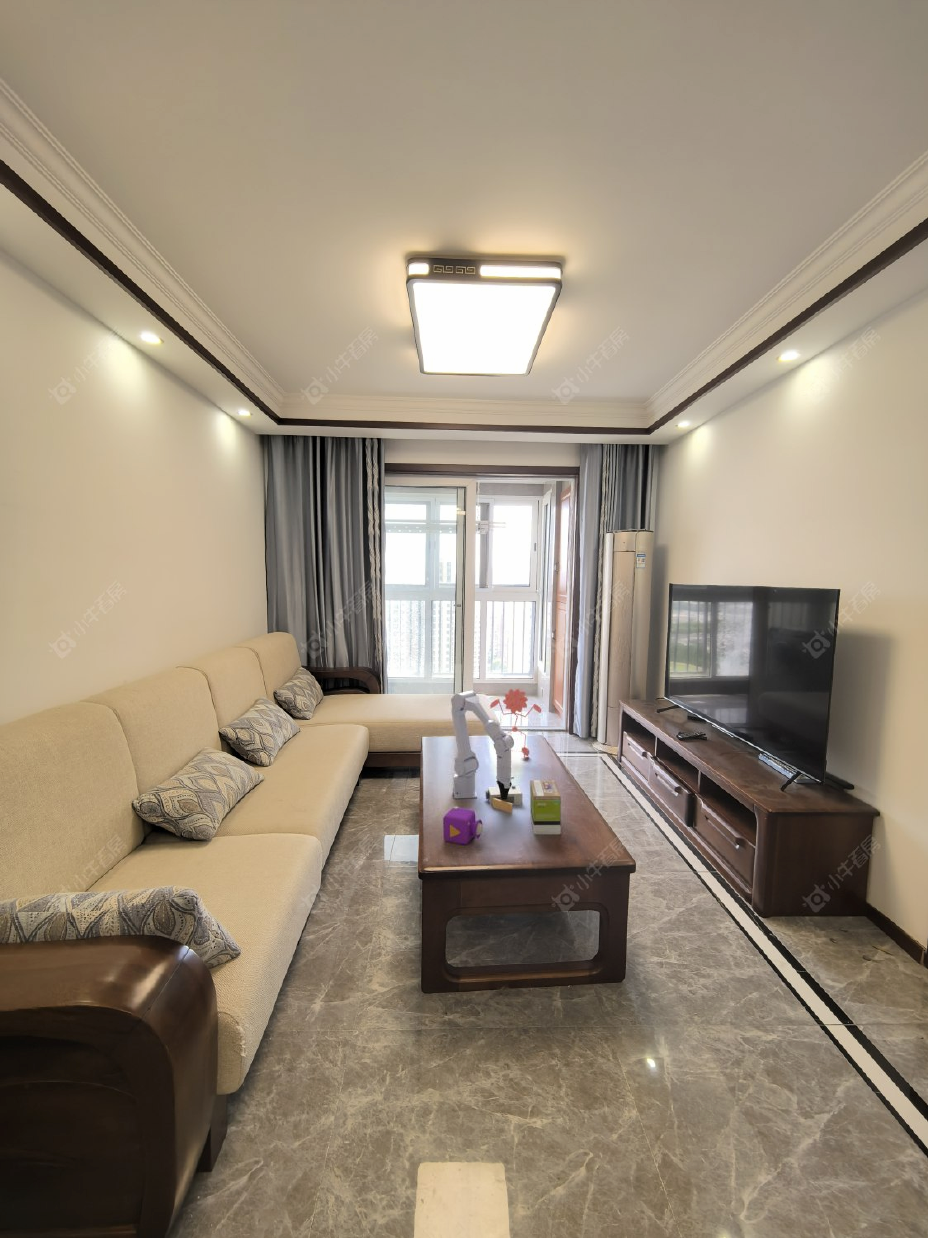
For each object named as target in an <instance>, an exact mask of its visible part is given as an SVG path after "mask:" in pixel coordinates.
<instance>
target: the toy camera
mask: <svg viewBox="0 0 928 1238" xmlns="http://www.w3.org/2000/svg"><path fill="white" fill-rule="evenodd" d="M442 818H443V819H442V820H443V821H442V823H443V826H442V828H443V829H442V830H443V831H442V832H443V833H442V834H443V839H444V840H443V841H445V842H449V843H454V844H460V845H467V844H468V843H469V842H470V841H471V840H472V839H473V837H474V838H475V839H477V840H478V839H480V838H481V835H482V833H483V820H482V819H478V820H476V812H475V811H474V810H472V809H467V808H462V807H459V806H455V805H454V807H452V808H451V809H450V810H449V811H448V812H447V813H446V814H444V816H443V817H442Z"/></svg>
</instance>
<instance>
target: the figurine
mask: <svg viewBox="0 0 928 1238" xmlns="http://www.w3.org/2000/svg"><path fill="white" fill-rule="evenodd" d="M525 695H526V692H525V691H523V690H522V691H521V690H520V689H519V688H517V689H515V690H514V689H512V688H509V691H508V693H505V694H504V698H505V699H503V700H502V703H503V704H504V705H505V709H506V710H510V712H507V713H506V712H505V713H504V709H503V707H502V704H501V702H500V699H499V698H498V699H495V700H493V701H492V702H491V703H490V705H489V708H490V709H493V708H495V707H496V706H497V705H498V704H499V707H500V710H501V713H502V715H503V716H505V715H515V716H516V718H515V723H514V726H513V727H512V728H511V730H510V731H508V732H506V734H509V733H511V732H512V731H513V732H520V733H521V734H523V735H524V743H526V738H527V734H525V733H524V732H523V731H521V730H520V729H518V727H517V726H516V725H517V721H518V717H519V716H521V717H524V718H527V716H529V714H530V713H531V711H532V710H533V709H534V710H535V711H536V712H538V713H540V714H541V713H542V708H541V707H540V706H539V705H537V704H536V703H534V704H533V705H532V707H531V708H530V710H529V711H528V712H527V713H526V715H523V714H519V713H522V712H523V708H524V709H526V708H528V704H527V702H528V700H529V698H527V696H525ZM517 712H518V713H517ZM523 746H524V747H521V751H520V752H521V753H522V754H523V760H524V761H526V756H527V757H529V755H530V749H529V748H528V747H526V744H524V745H523Z"/></svg>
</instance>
